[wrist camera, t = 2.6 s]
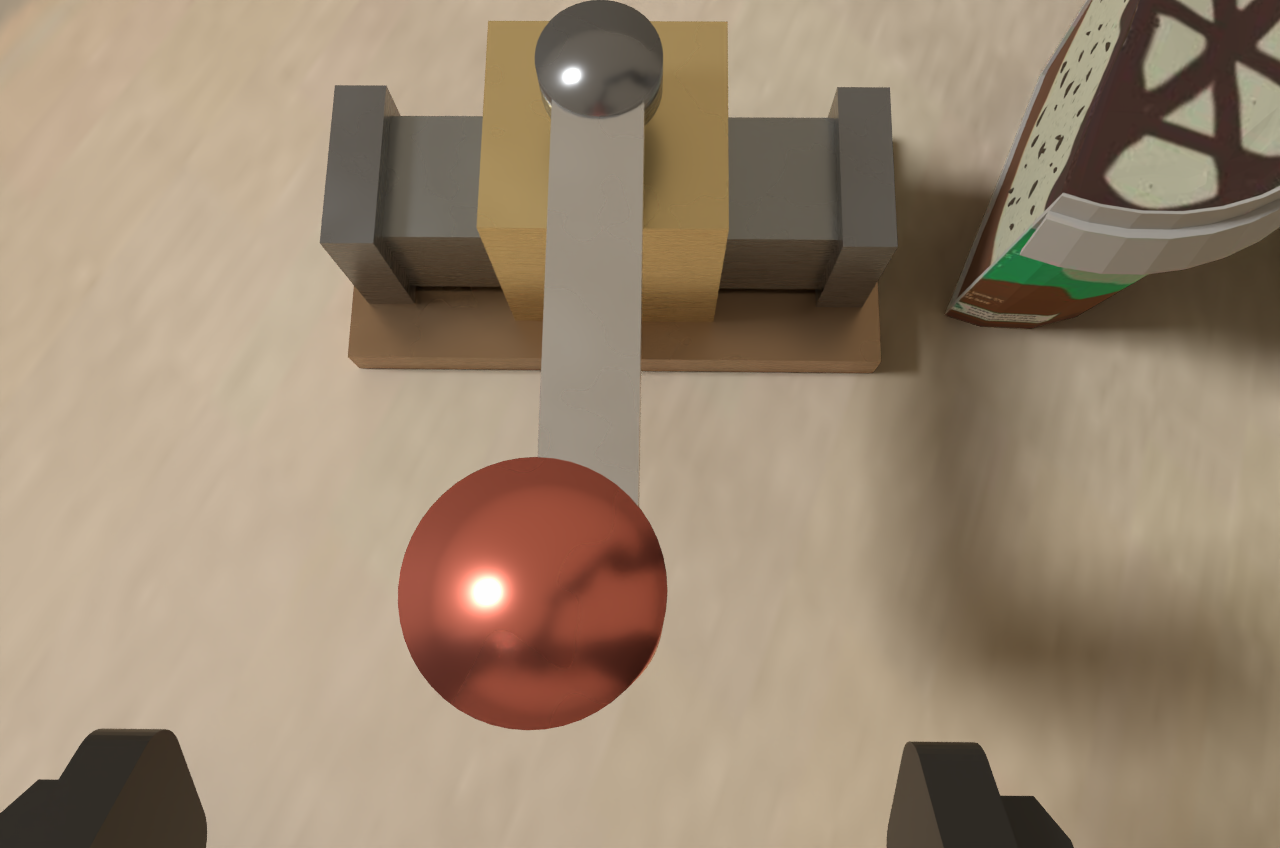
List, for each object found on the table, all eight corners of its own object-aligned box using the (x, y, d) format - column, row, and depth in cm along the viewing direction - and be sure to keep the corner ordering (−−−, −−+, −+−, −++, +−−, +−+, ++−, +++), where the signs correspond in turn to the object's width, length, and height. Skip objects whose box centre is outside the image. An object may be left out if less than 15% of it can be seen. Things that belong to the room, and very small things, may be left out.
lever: (538, 33, 23) (465, -360, 14) (667, 33, 23) (675, -361, 14) (510, 696, 20) (388, 727, 11) (661, 699, 19) (666, 732, 11)
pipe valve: (862, 139, 32) (939, -54, 24) (872, 373, 31) (959, 258, 22) (378, 136, 33) (277, -54, 24) (359, 368, 31) (242, 252, 22)
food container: (1118, 434, 30) (1340, 327, 20) (927, 356, 31) (1053, 216, 21) (1233, 102, 33) (1479, -136, 23) (1054, 36, 33) (1220, -222, 24)
